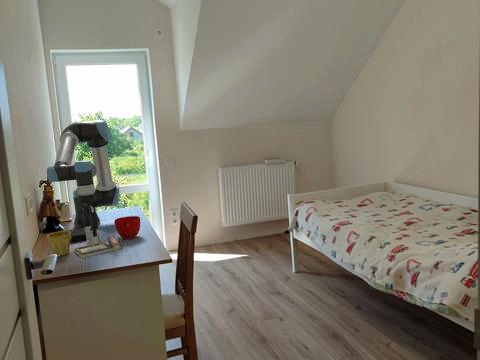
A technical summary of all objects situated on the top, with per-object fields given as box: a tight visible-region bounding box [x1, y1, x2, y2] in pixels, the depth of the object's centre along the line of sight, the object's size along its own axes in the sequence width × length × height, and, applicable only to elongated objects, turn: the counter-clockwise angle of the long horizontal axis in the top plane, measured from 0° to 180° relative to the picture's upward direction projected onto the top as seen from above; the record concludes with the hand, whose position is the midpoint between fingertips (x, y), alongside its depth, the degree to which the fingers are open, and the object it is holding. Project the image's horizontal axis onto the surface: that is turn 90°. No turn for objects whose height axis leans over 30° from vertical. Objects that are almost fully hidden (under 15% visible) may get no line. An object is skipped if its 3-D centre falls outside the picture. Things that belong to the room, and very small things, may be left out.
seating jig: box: [73, 235, 123, 258], centre depth 211 cm, size 13×19×6 cm
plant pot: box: [46, 230, 71, 256], centre depth 209 cm, size 10×10×10 cm
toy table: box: [85, 229, 106, 247], centre depth 210 cm, size 10×9×6 cm
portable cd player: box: [52, 228, 88, 244], centre depth 236 cm, size 16×17×4 cm
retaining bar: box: [107, 235, 119, 247], centre depth 209 cm, size 15×3×2 cm, turn 25°
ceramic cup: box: [114, 215, 141, 240], centre depth 228 cm, size 13×17×10 cm
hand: (92, 241), depth 209 cm, fingers closed on toy table, 8 cm apart
